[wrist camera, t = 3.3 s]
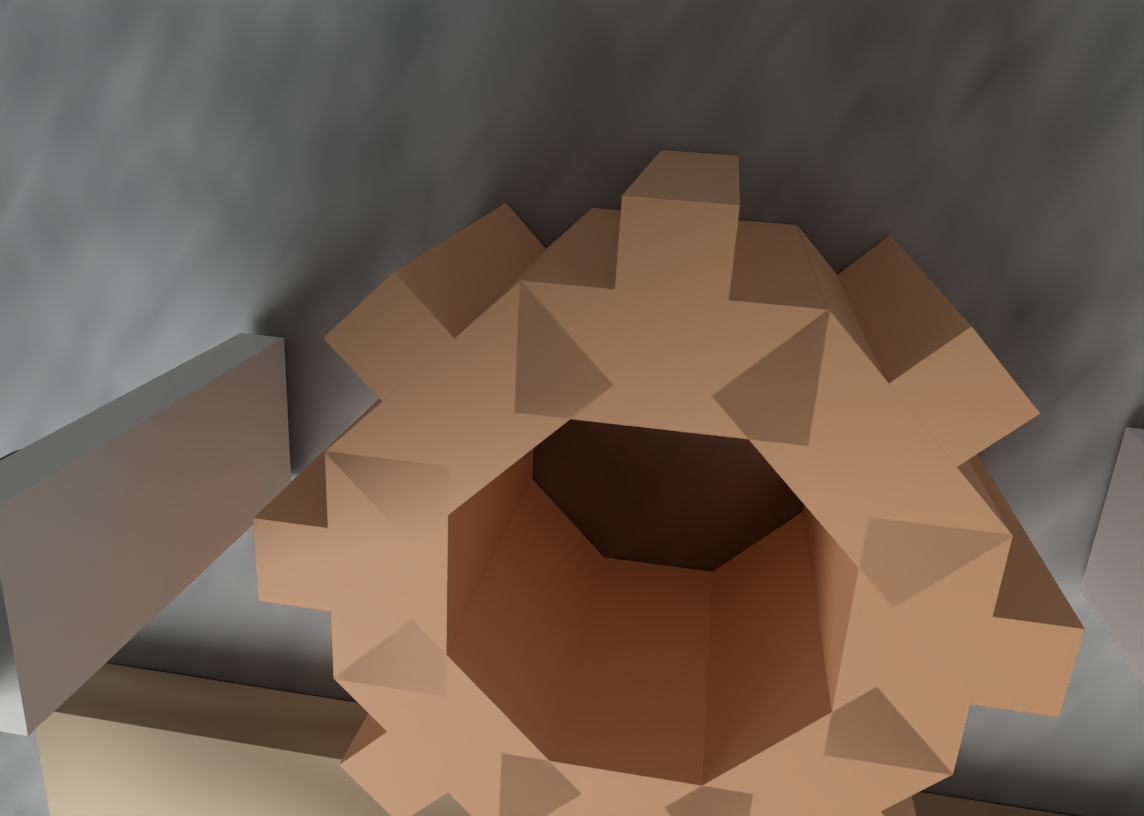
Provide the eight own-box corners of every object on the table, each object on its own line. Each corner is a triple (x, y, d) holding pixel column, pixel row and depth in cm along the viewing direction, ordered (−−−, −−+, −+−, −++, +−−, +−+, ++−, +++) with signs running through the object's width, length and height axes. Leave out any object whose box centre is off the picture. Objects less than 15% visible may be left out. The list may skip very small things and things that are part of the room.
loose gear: (396, 130, 14) (228, 163, 9) (1030, 177, 13) (1198, 242, 8) (401, 642, 17) (276, 855, 13) (909, 717, 16) (980, 985, 11)
